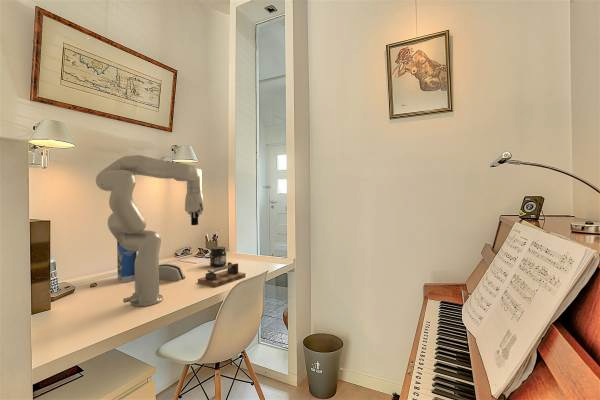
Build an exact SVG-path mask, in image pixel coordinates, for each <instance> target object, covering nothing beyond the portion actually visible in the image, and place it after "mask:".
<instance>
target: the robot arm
mask: <svg viewBox="0 0 600 400" xmlns="http://www.w3.org/2000/svg"><path fill="white" fill-rule="evenodd" d="M136 176H144V177H151V178H156V179H162V180H163V179H164V180H165V179H166V180H167V179H169V180H171V179H173V180H174V181H177V182H186V193H185V194H186V195H185V197H184V198H185V199H184V211H185V212H186V213H187V215H189V217H190V218H191V219H190V221H191V222H190V223H191V226H198V225H199V217H200V216H201V215H202V214H203V211H204V198H203V193H202V192H203V190H202V184H203V183H202V169H201V168H198V167H196V165H192V164H187V163H184V162H183V163H182V162H176V161H175V162H174V161H170V160H169V161H168V160H162V159H158V158H154V157H150V156H145V155H139V154H138V155H135V154H134V155H125V156H122V157H120V158H118V159H117V160H115V161H114V162H112V163H111V164H109V165H108V166H107V167H105V168H103V169H102V170H101V171H99V172H98V174H97V175H96V178H95V183H96V186H97V187H98V188H99V189H100V190H102V191H105V192H110V194H109V199H108V200H109V201H108V204H109V209H110V210H111V212H112V213H111V214H110V215H109V216H108V219H107V227H108V230H109V231H110V233H111V234H112V236H113V237H114V238H115V239H116V242H117V241H118V242H119V243H120V245H121V246H122V247H123V248H124V249H126V250H129V251H137V257H136V259H135V281H134V292H132V294H131V296H128V297H124V298H123V299H122V302H123V303H124V304H126V303H130V304H131V305H132V306H134V307H146V306H147V307H149V306H152V305H156V304H159V303H160V302H162V301H163V299H164V295H162V294H160V279H159V265H160V264H159V263H160V261H159V260H160V259H159V258H160V251H161V250H160V249H161V243H162V238H161V236H160V235H159V233H157V232H156V231H155V230H154V231H153V230H148V229H147V230H146V228H147V221H146V219H145V217H144V215H143V213H141V211H140V209H139V208H138V206H137V205H136V203H135V200H134V199H133V193H134V189H135V186H136V184H137V181H136V180H137V179H136Z"/></svg>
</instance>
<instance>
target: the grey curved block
mask: <svg viewBox="0 0 600 400" xmlns="http://www.w3.org/2000/svg"><path fill="white" fill-rule="evenodd" d="M164 279H165V280H169V281H179V280H181V281H182V280H183V279H186V275H185V274H184V273H183V270H182V268H181V266H179V265H176V264H173V263H160V264H159V280H164ZM165 280H164V281H165Z"/></svg>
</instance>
